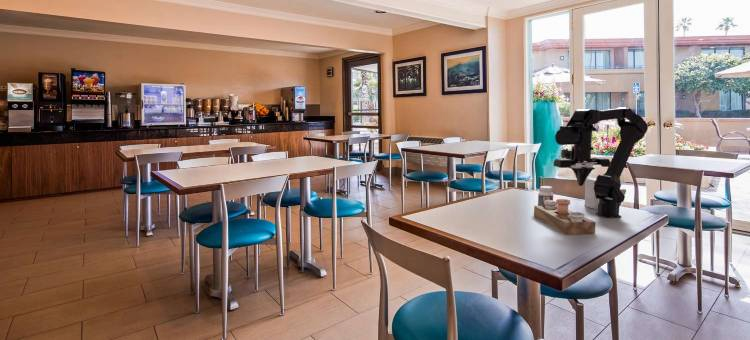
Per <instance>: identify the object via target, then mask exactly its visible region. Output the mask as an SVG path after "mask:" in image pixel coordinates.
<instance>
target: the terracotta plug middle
mask: <svg viewBox="0 0 750 340" xmlns="http://www.w3.org/2000/svg"><path fill="white" fill-rule="evenodd" d="M555 201H556V204H557V214H558V215H568V209H569V206H570V205H571V200H570V199H567V198H558V199H557V198H556V200H555Z"/></svg>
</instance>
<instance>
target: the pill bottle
mask: <svg viewBox="0 0 750 340" xmlns="http://www.w3.org/2000/svg"><path fill="white" fill-rule="evenodd" d="M539 190H540V191H539V192H538V193H537V194H538V195H537V206H545V205H544V201H545V200H553V201H554V192H552V191H553V186H550V185H541V186H540V187H539Z"/></svg>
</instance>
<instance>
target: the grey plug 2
mask: <svg viewBox="0 0 750 340" xmlns="http://www.w3.org/2000/svg"><path fill="white" fill-rule="evenodd" d="M569 217H570V218H571V220H570V221H571V222H582V219H583V218H584V217H585V213H583V212H581V211H573V212H570V213H569Z"/></svg>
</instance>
